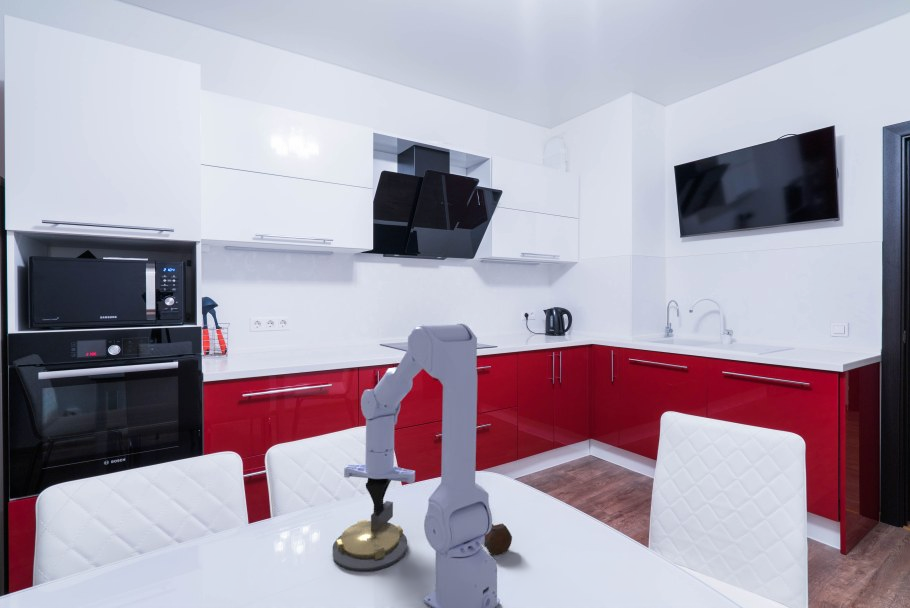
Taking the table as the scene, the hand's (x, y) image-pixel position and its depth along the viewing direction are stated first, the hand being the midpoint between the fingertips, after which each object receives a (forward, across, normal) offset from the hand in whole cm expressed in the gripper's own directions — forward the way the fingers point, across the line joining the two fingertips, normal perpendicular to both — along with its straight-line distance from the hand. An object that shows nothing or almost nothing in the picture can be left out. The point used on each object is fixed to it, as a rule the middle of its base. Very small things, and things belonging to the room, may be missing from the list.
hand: (378, 514), depth 92 cm
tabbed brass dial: (+3, -1, +6) cm, 7 cm away
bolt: (+4, -21, -4) cm, 22 cm away
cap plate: (+4, -1, +6) cm, 7 cm away
